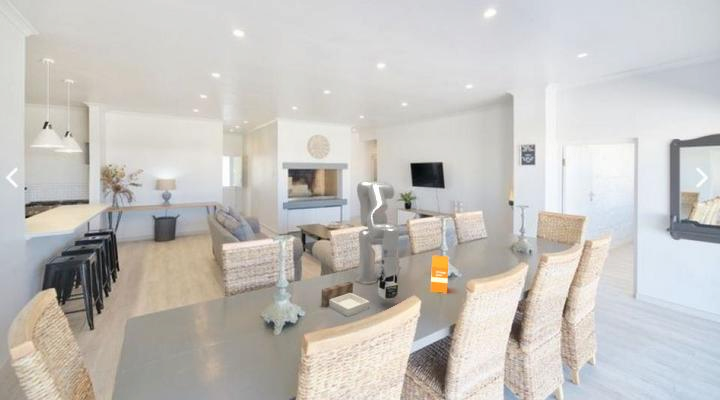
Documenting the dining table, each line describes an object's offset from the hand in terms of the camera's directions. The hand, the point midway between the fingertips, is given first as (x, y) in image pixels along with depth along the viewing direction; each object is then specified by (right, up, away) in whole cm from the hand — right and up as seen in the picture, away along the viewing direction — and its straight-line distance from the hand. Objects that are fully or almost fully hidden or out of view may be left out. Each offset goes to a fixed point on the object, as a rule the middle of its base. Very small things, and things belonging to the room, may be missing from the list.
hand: (388, 286), depth 161 cm
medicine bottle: (0, -5, +1) cm, 5 cm away
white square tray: (-19, -10, -3) cm, 22 cm away
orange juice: (+31, -9, +24) cm, 40 cm away
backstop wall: (-25, -9, +3) cm, 27 cm away
